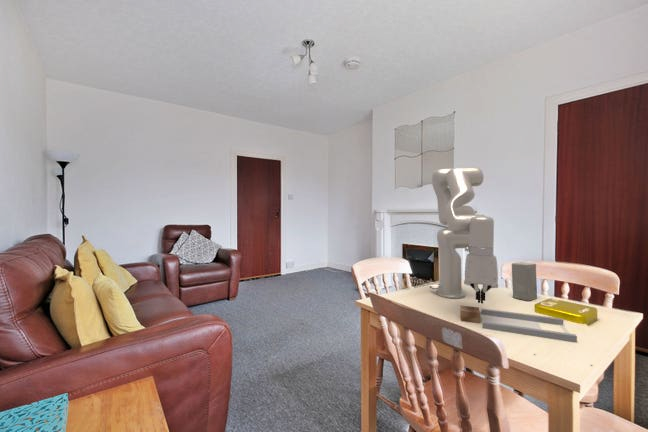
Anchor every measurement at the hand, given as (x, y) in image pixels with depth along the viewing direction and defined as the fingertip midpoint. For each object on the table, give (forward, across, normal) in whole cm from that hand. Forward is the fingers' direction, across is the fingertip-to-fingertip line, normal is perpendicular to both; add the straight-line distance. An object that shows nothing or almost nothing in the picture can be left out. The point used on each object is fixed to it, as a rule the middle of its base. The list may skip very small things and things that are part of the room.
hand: (480, 302), depth 101 cm
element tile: (+8, +28, +18) cm, 35 cm away
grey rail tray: (+7, +12, -1) cm, 14 cm away
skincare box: (+9, +18, +39) cm, 44 cm away
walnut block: (+8, -3, -2) cm, 8 cm away
